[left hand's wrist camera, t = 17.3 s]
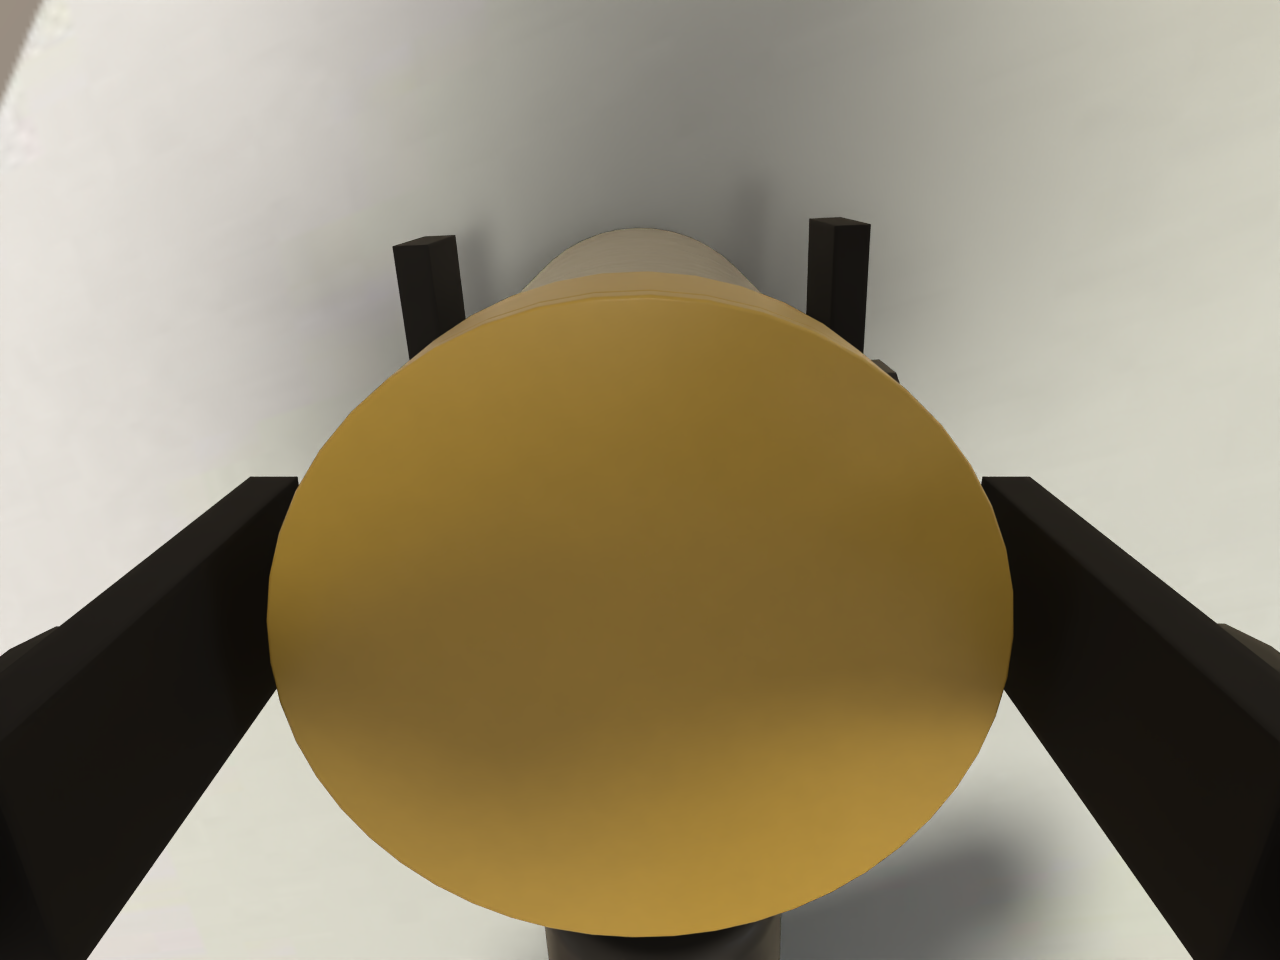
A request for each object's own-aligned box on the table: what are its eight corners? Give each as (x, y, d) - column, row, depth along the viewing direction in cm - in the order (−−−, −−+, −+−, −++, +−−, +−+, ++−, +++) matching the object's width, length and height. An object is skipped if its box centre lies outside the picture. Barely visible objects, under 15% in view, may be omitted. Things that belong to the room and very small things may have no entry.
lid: (1005, 279, 10) (1093, 304, 8) (903, 831, 14) (948, 943, 12) (288, 261, 10) (204, 283, 8) (362, 822, 14) (315, 933, 12)
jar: (768, 487, 27) (925, 872, 12) (518, 492, 27) (370, 883, 12) (777, 223, 24) (1004, 310, 9) (495, 231, 24) (261, 328, 9)
